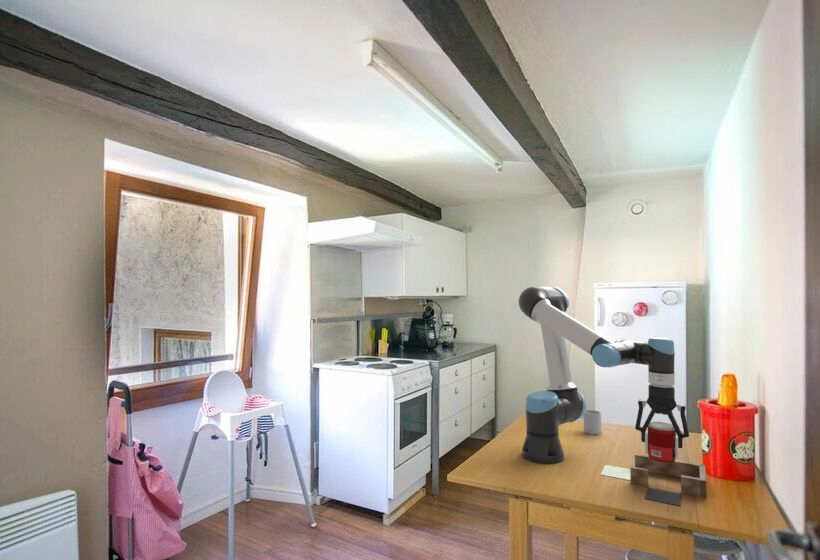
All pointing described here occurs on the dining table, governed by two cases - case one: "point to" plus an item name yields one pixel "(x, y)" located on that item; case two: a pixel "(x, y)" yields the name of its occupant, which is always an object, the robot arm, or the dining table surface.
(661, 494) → the mat
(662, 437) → the canned food
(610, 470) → the pad
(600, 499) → the dining table surface
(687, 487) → the wooden walled channel
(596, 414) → the cup
